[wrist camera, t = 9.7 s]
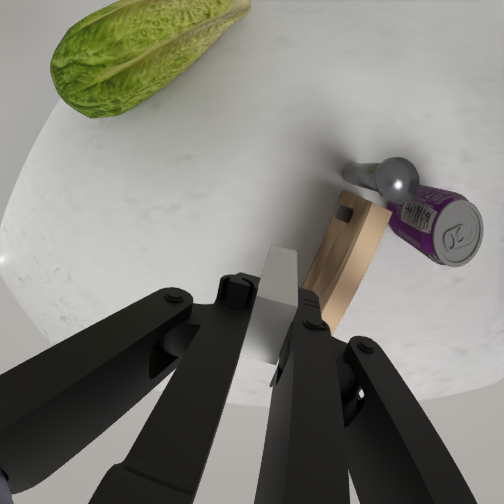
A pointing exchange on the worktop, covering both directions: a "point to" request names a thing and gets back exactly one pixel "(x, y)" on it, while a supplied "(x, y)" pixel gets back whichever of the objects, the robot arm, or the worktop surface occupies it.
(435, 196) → the beverage can
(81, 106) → the lettuce
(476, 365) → the worktop surface
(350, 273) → the gate
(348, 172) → the post
